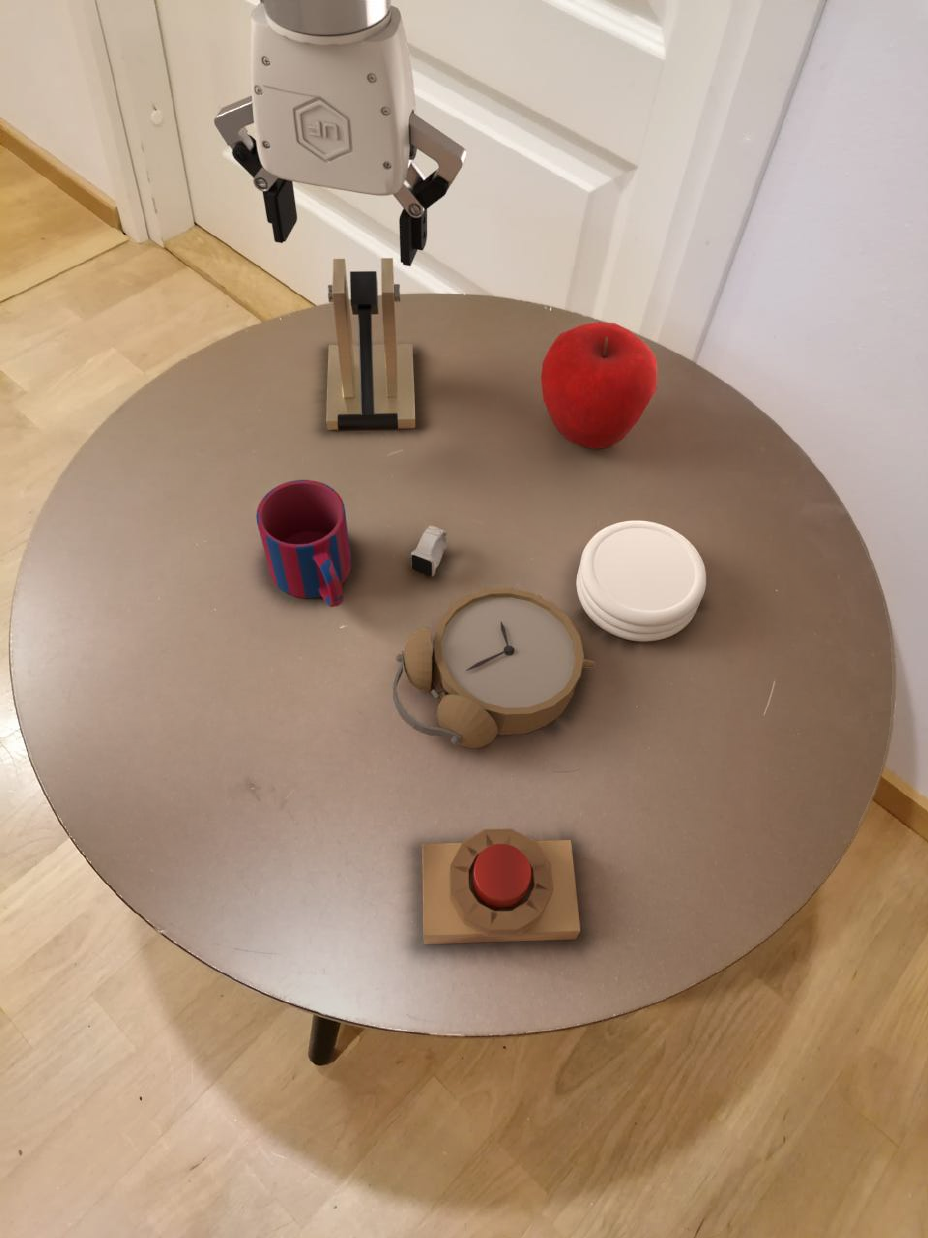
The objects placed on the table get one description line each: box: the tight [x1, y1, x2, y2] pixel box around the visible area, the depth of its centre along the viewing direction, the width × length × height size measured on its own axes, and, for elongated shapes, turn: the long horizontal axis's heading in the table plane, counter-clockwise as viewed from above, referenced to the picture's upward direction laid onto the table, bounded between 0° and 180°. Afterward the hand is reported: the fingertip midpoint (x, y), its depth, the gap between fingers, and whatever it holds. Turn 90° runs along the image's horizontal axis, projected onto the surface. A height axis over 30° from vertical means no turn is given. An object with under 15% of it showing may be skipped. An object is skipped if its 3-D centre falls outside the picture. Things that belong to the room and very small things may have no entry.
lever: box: [337, 270, 399, 433], centre depth 79 cm, size 13×5×2 cm, turn 3°
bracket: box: [325, 257, 416, 431], centre depth 83 cm, size 10×8×13 cm
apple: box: [540, 321, 658, 450], centre depth 81 cm, size 10×10×11 cm
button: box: [473, 844, 531, 908], centre depth 59 cm, size 4×4×2 cm
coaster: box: [575, 520, 707, 642], centre depth 75 cm, size 10×10×4 cm
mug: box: [255, 479, 352, 608], centre depth 73 cm, size 7×10×7 cm
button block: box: [421, 828, 581, 945], centre depth 61 cm, size 10×6×4 cm, turn 92°
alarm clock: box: [392, 587, 596, 749], centre depth 70 cm, size 11×5×15 cm
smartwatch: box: [410, 525, 449, 578], centre depth 76 cm, size 4×2×4 cm, turn 156°
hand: (348, 242), depth 69 cm, fingers open, 9 cm apart
